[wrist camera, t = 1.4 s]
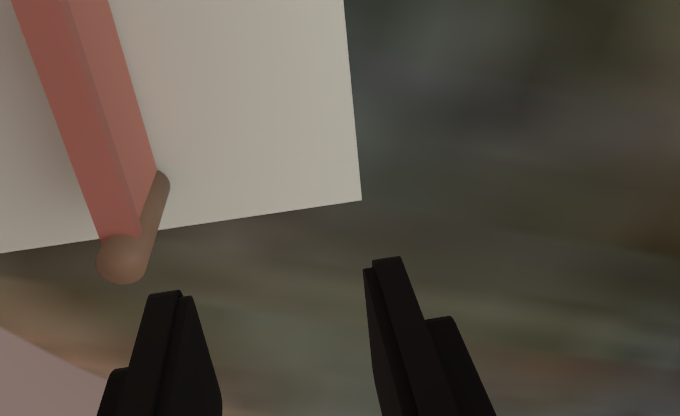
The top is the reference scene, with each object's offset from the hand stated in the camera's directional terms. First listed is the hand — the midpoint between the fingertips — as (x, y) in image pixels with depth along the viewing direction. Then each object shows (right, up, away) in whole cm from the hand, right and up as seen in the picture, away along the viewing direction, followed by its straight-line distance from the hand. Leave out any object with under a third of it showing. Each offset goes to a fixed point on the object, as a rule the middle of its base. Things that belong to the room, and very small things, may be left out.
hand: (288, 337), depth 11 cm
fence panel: (-8, +7, +14) cm, 18 cm away
